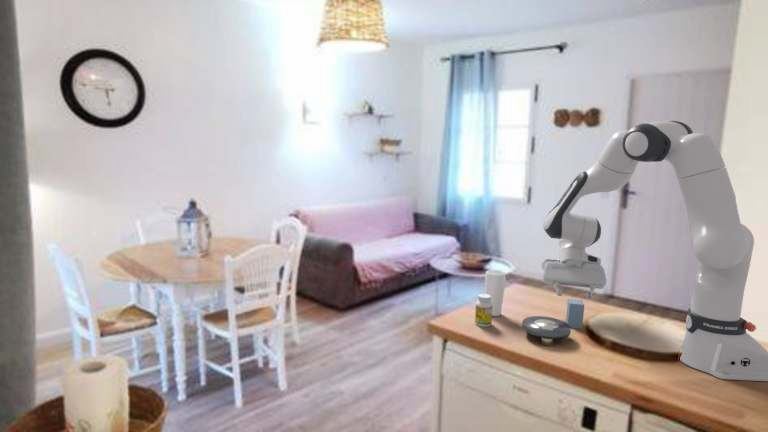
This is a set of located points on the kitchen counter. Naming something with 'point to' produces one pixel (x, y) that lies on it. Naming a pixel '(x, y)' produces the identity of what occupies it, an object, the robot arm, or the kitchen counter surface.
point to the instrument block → (575, 313)
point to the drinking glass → (495, 289)
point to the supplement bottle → (483, 310)
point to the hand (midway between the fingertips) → (574, 296)
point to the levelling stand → (546, 328)
